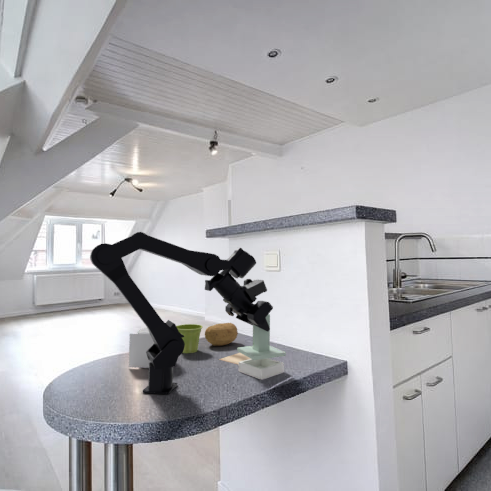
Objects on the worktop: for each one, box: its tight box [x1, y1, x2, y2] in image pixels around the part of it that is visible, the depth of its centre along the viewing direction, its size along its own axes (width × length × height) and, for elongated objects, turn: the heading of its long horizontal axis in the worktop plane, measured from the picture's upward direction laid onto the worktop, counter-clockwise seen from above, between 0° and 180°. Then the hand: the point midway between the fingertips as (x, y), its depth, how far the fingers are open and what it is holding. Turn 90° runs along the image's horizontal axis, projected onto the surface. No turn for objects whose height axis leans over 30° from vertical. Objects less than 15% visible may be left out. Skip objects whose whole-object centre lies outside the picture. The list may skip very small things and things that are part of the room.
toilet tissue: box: [128, 327, 154, 369], centre depth 101 cm, size 11×12×10 cm
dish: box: [238, 358, 285, 381], centre depth 93 cm, size 9×9×3 cm
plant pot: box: [176, 323, 203, 354], centre depth 115 cm, size 9×9×9 cm
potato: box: [204, 322, 238, 347], centre depth 124 cm, size 10×14×8 cm
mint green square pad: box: [218, 352, 251, 366], centre depth 105 cm, size 11×11×1 cm
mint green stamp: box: [236, 313, 287, 360], centre depth 94 cm, size 10×10×11 cm
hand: (265, 329), depth 94 cm, fingers closed on mint green stamp, 3 cm apart
